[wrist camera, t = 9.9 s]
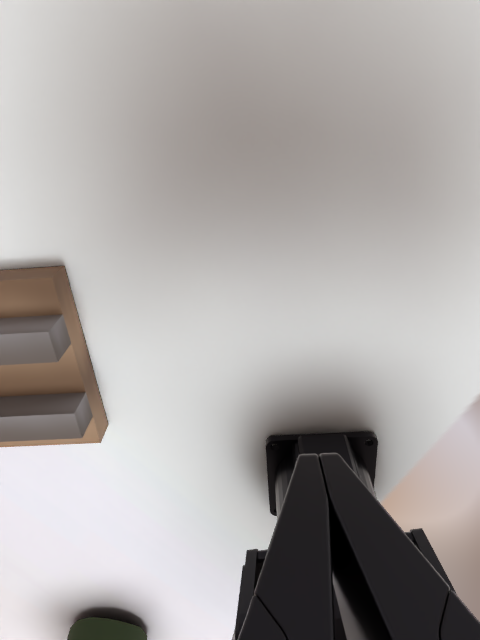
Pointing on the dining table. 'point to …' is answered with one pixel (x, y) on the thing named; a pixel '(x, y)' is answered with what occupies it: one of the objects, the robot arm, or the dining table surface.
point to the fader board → (45, 363)
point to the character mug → (105, 630)
